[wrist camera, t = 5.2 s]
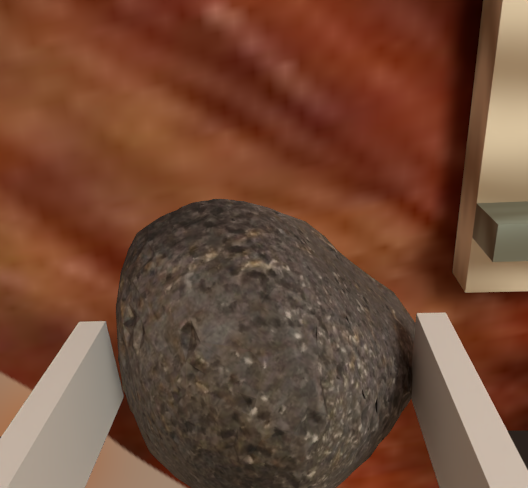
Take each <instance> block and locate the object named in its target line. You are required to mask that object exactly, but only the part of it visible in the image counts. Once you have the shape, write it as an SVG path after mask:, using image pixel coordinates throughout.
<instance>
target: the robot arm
mask: <svg viewBox="0 0 528 488" xmlns="http://www.w3.org/2000/svg"><path fill="white" fill-rule="evenodd" d="M123 397H124V395H123V391H122V387H121V382H120V378H119V374H118V370H117V366H116V362H115V358H114V354H113V349H112V345H111V341H110V337H109V333H108V329H107V325H106V321H94V322H79V323H78V324H77V326H76V327H75V329H74V330H73V332H72V333H71V335H70V336H69V338H68V339H67V341H66V342H65V343H64V345H63V346H62V348H61V349H60V351H59V352H58V354H57V355H56V357H55V358H54V360H53V361H52V363H51V364H50V366H49V367H48V369H47V370H46V372H45V373H44V375H43V376H42V378H41V379H40V380H39V382H38V383H37V385H36V386H35V388H34V389H33V391H32V393H31V394H30V395H29V397H28V398H27V400H26V401H25V403H24V404H23V406H22V407H21V409H20V410H19V412H18V413H17V415H16V416H15V418H14V419H13V420H12V422H11V423H10V425H9V426H8V428H7V429H6V431H5V432H4V434H3V435H2V437H0V488H85V486H86V484H87V481H88V479H89V477H90V474H91V472H92V470H93V467H94V465H95V463H96V460H97V458H98V456H99V453H100V451H101V449H102V446H103V444H104V442H105V439H106V437H107V435H108V432H109V430H110V428H111V425H112V423H113V421H114V418H115V416H116V414H117V411H118V409H119V407H120V404H121V402H122V400H123ZM411 399H412V402H413V405H414V408H415V411H416V414H417V418H418V421H419V424H420V427H421V430H422V433H423V437H424V440H425V443H426V446H427V449H428V452H429V456H430V459H431V462H432V465H433V468H434V471H435V474H436V478H437V481H438V484H439V487H440V488H528V431H507V429H506V428H505V426H504V424H503V422H502V420H501V418H500V416H499V414H498V412H497V410H496V408H495V406H494V404H493V403H492V401H491V399H490V397H489V395H488V393H487V391H486V389H485V387H484V385H483V383H482V381H481V379H480V378H479V376H478V374H477V372H476V370H475V368H474V366H473V364H472V362H471V360H470V358H469V356H468V355H467V353H466V351H465V349H464V347H463V345H462V343H461V341H460V339H459V337H458V335H457V333H456V331H455V330H454V328H453V326H452V324H451V322H450V320H449V318H448V316H447V314H446V313H417V314H416V325H415V336H414V348H413V359H412V395H411Z"/></svg>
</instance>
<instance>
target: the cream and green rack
mask: <svg viewBox="0 0 528 488" xmlns="http://www.w3.org/2000/svg"><path fill="white" fill-rule="evenodd" d="M452 273H453V274H454V276H455V277H456V279H457V281H458V282H459V284H460V285H461V287H462V288H463V290H464V292H465V293H472V292H513V291H528V0H483V7H482V16H481V24H480V33H479V42H478V51H477V60H476V68H475V77H474V86H473V95H472V103H471V112H470V121H469V130H468V139H467V147H466V156H465V165H464V174H463V183H462V191H461V200H460V209H459V218H458V226H457V235H456V244H455V253H454V262H453V270H452Z"/></svg>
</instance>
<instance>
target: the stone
mask: <svg viewBox="0 0 528 488" xmlns="http://www.w3.org/2000/svg"><path fill="white" fill-rule="evenodd" d="M116 319H117V339H118V350H119V355H118V360H119V365H120V371H121V377H122V385H123V390H124V392H125V394H126V397H127V402H128V405H129V407H130V410H131V412H132V413H133V414H134V417H135V419H136V422H137V424H138V427H139V429H140V432H141V434H142V436H143V439H144V441H145V443H146V445H147V447H148V449H149V451H150V453H151V454H152V455H153V456H154V457H155V458H156V459H157V460H158V461H159V462H160V463H161V464H163V465H164V466H165V467H166V468H167V469H168V470H169V471H170V472H171V473H172V474H173V475H174V476H175V477H176V478H178V479H179V480H181V481H182V482H184V483H185V484H187V485H188V486H190V487H191V488H336V487H337V486H338V485H340V484H341V483H342V482H343V481H344V480H345V479H346V478H347V477H348V476H349V475H350V474H351V473H352V472H353V471H354V470H355V469H356V468H358V467H359V466H360V465H361V464H362V463H363V462H365V461H366V460H367V459H368V458H369V457H370V456H371V455H372V453H373V452H374V450H375V449H376V447H377V446H378V444H379V443H380V442H381V441H382V440H383V439H384V438H385V437H386V436H387V435H388V433H389V432H390V431H391V429H392V428H393V426H394V424H395V423H396V421H397V419H398V418H399V416H400V414H401V412H402V411H403V410H404V408H405V407H406V406H407V404H408V403H409V401H410V400H411V395H412V359H413V348H414V336H415V325H416V323H415V322H414V320H413V319H412V318H411V316H410V315H409V313H408V312H407V311H406V309H405V308H404V306H403V305H402V303H401V302H400V301H399V299H398V298H397V296H396V295H395V294H394V292H392V291H391V290H389V289H388V288H387V287H385V286H384V285H382V284H381V283H379V282H378V281H376V280H375V279H373V278H372V277H370V276H369V275H368V274H366V273H365V272H364V271H363V270H361V269H360V268H359V267H357V266H356V265H355V264H353V263H352V262H351V261H349V260H348V259H347V258H346V257H345V256H343V255H342V254H341V253H340V252H339V251H337V250H336V248H335V247H334V246H333V245H332V244H331V243H330V242H329V241H328V240H327V239H326V237H325V236H323V235H322V234H321V233H319V232H318V231H317V230H316V229H314V228H313V227H312V226H310V225H309V224H308V223H307V222H305V221H302V220H300V219H297V218H294V217H291V216H289V215H285V214H282V213H280V212H277V211H275V210H273V209H270V208H267V207H263V206H259V205H255V204H252V203H248V202H244V201H235V200H228V199H212V200H209V201H201V202H194V203H191V204H188V205H186V206H183V207H181V208H180V209H178V210H176V211H174V212H171V213H168V214H166V215H164V216H162V217H160V218H158V219H157V220H155V221H154V222H152V223H151V224H149V225H148V226H146V227H145V228H144V229H142V230H141V231H139V232H138V233H137V234H136V236H135V238H134V240H133V242H132V244H131V246H130V248H129V250H128V253H127V256H126V259H125V262H124V265H123V268H122V271H121V276H120V283H119V290H118V297H117V304H116Z"/></svg>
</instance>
